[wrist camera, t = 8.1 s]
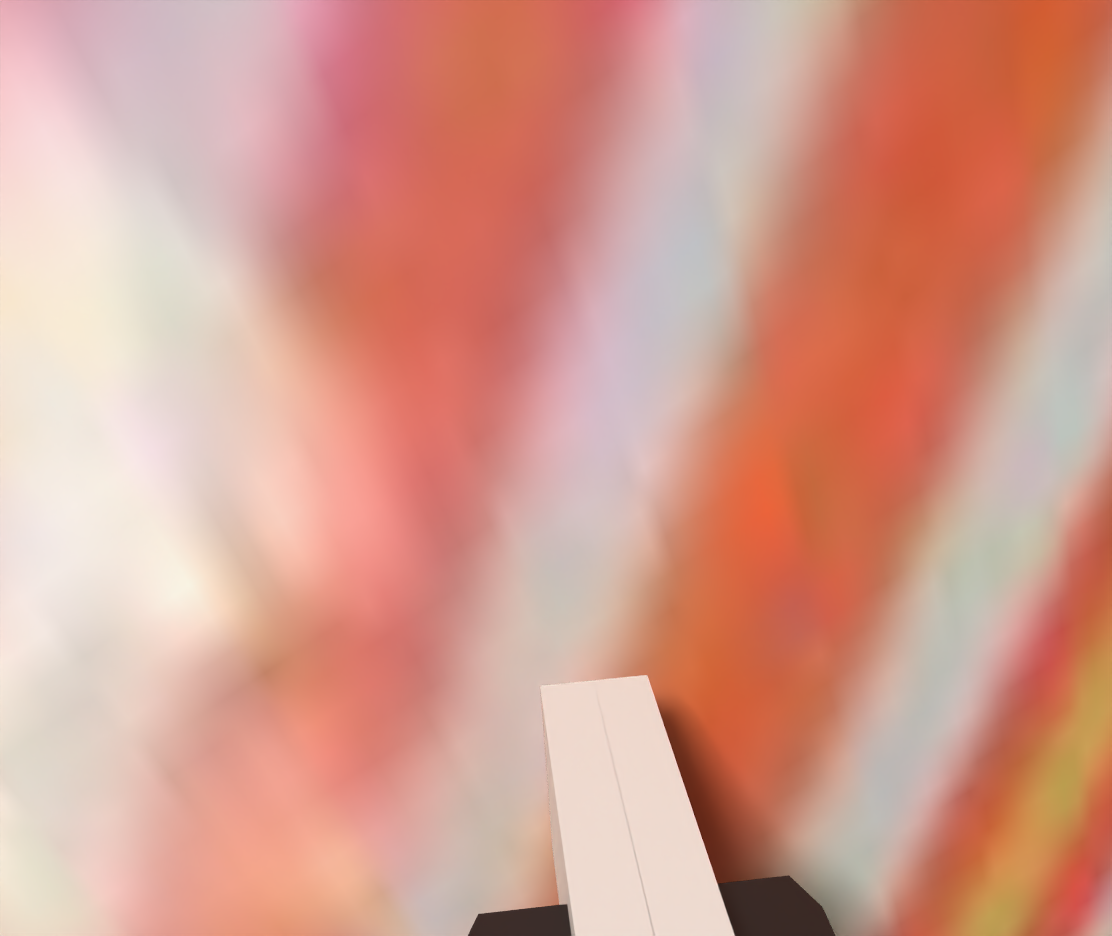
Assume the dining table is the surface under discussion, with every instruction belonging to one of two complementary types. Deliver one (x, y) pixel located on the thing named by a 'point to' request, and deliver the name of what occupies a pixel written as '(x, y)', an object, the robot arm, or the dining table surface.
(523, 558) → the dining table surface
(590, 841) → the robot arm
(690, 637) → the dining table surface
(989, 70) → the dining table surface
